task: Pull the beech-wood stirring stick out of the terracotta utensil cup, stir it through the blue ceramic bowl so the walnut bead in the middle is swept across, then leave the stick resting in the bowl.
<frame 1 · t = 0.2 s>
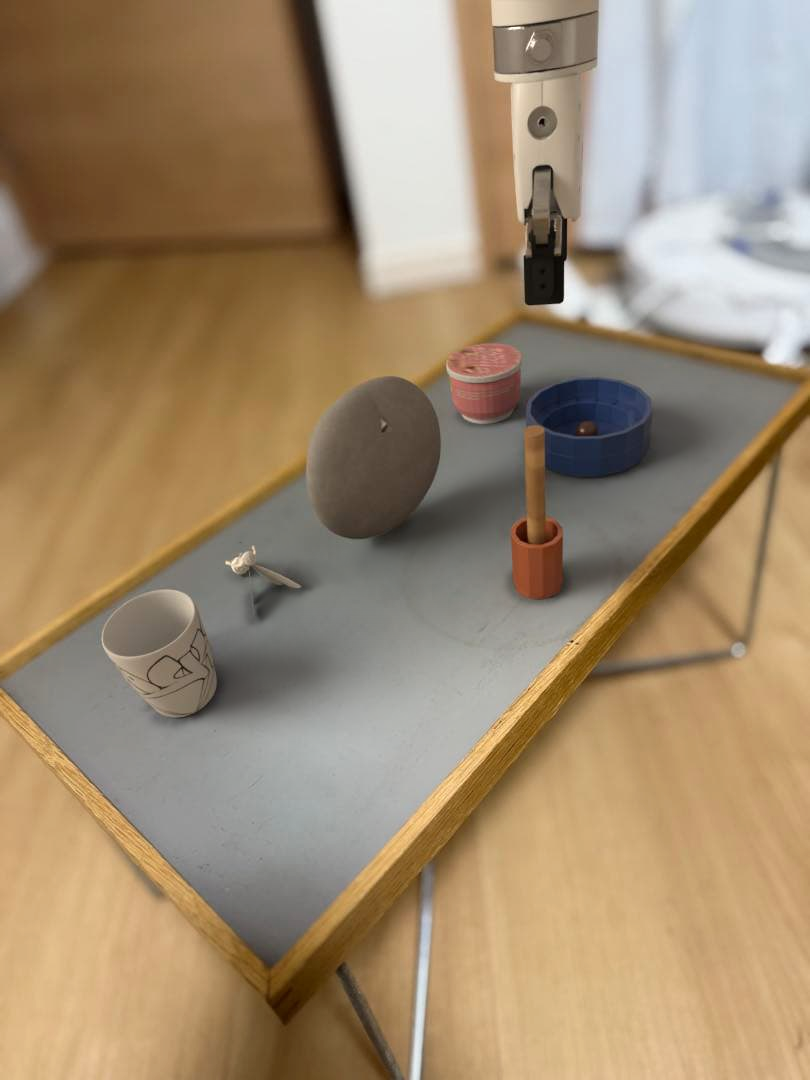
hand: (547, 281, 62), 28 cm above the table, tool pointing down, fingers open, 9 cm apart
holder: (537, 582, 73), on the table
mug: (182, 684, 70), on the table
fairy figurine: (258, 587, 79), on the table
container: (487, 411, 102), on the table
grey-brown thick disc: (389, 527, 84), on the table
bead: (587, 432, 90), point 2 cm above the table, touching bowl
bowl: (586, 446, 92), on the table
stick: (537, 579, 73), resting on holder
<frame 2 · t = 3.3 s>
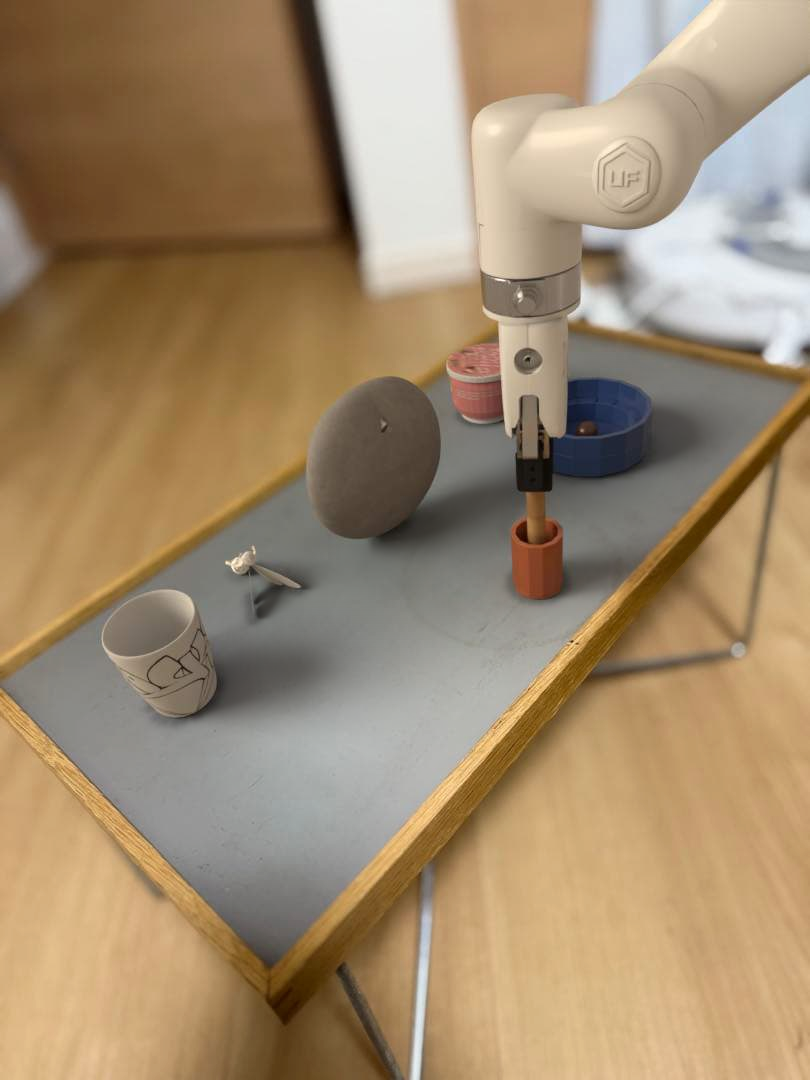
hand: (535, 481, 65), 13 cm above the table, tool pointing down, fingers closed on stick, 1 cm apart
stick: (537, 579, 73), point 1 cm above the table, touching gripper, holder
everything else where it was.
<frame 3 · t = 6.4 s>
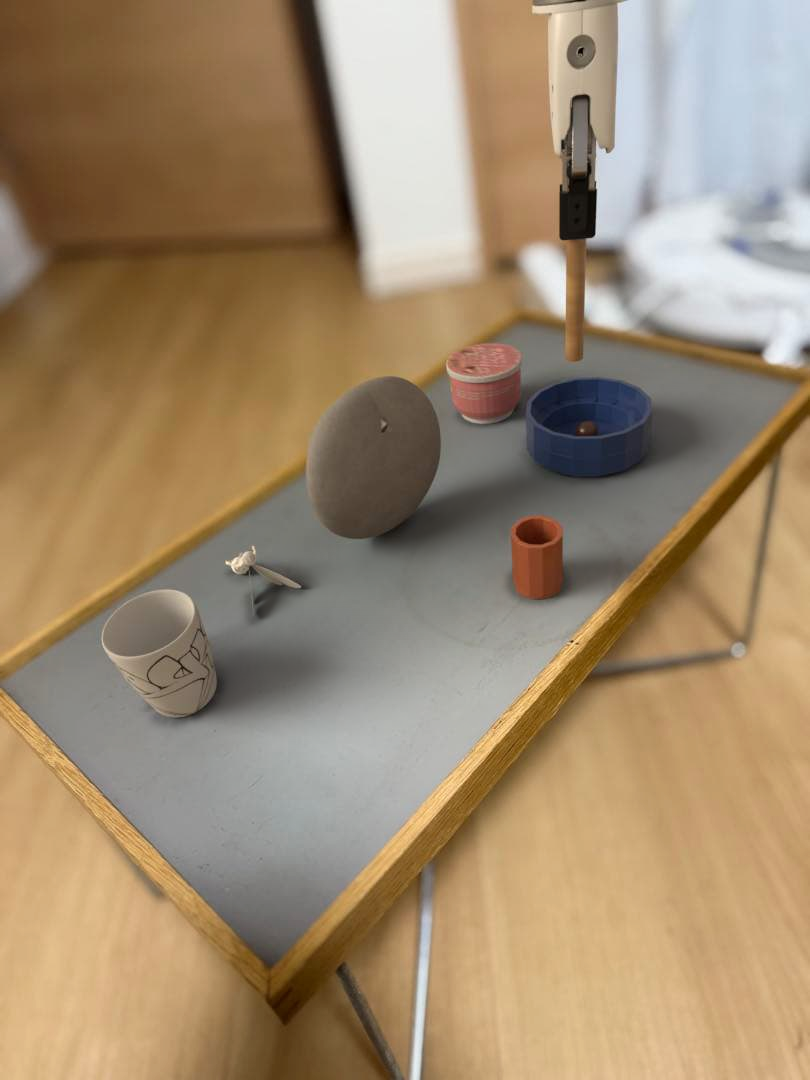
hand: (577, 232, 65), 30 cm above the table, tool pointing down, fingers closed on stick
stick: (574, 358, 73), point 18 cm above the table, touching gripper
everything else where it was.
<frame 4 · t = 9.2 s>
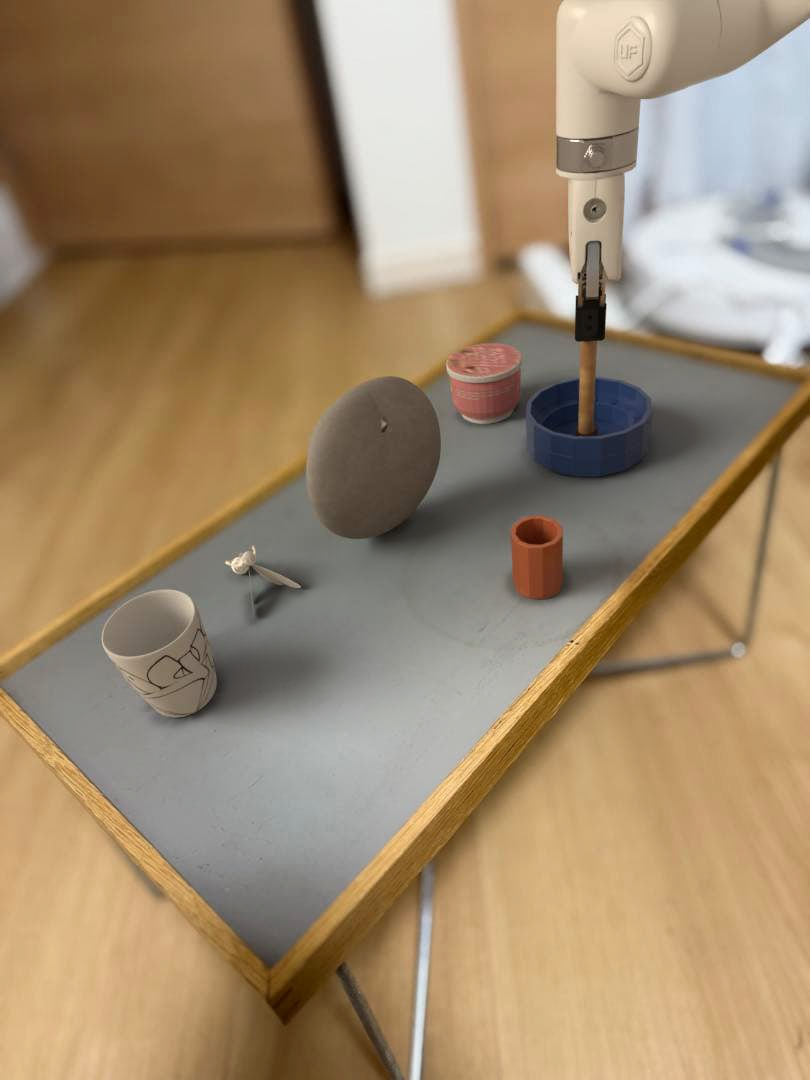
hand: (589, 333, 78), 17 cm above the table, tool pointing down, fingers closed on stick
stick: (585, 430, 86), point 4 cm above the table, touching gripper
everything else where it was.
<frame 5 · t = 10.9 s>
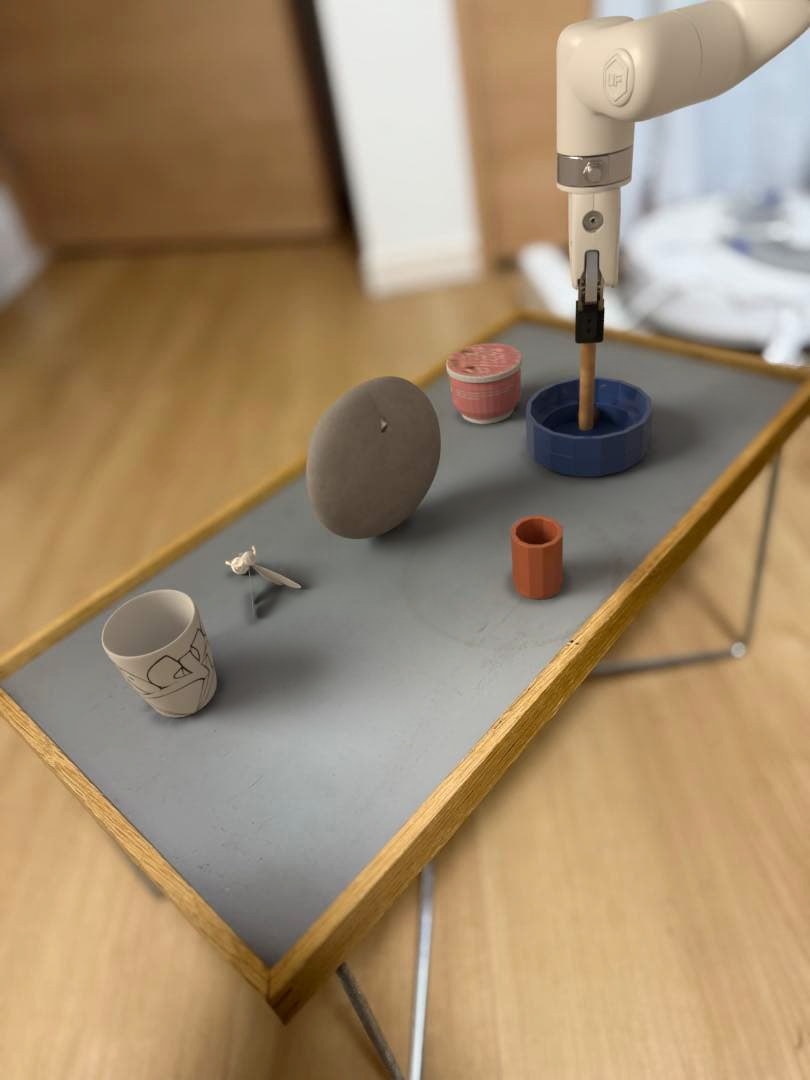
hand: (589, 336, 83), 15 cm above the table, tool pointing down, fingers closed on stick, 1 cm apart
bead: (588, 416, 93), point 2 cm above the table, tilted 156°, touching bowl
stick: (585, 427, 91), point 2 cm above the table, touching gripper
everything else where it was.
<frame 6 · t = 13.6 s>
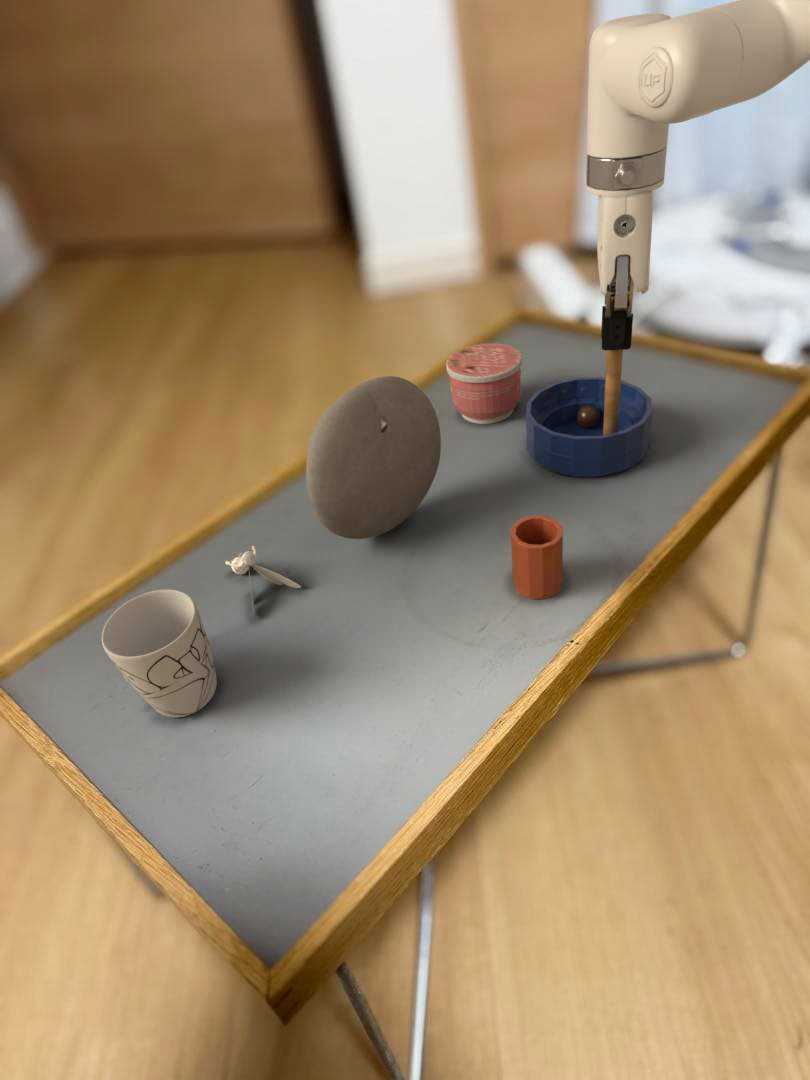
hand: (615, 342, 81), 15 cm above the table, tool pointing down, fingers closed on stick, 1 cm apart
bead: (588, 416, 93), point 2 cm above the table, tilted 150°, touching bowl
stick: (610, 435, 89), point 2 cm above the table, touching gripper
everything else where it was.
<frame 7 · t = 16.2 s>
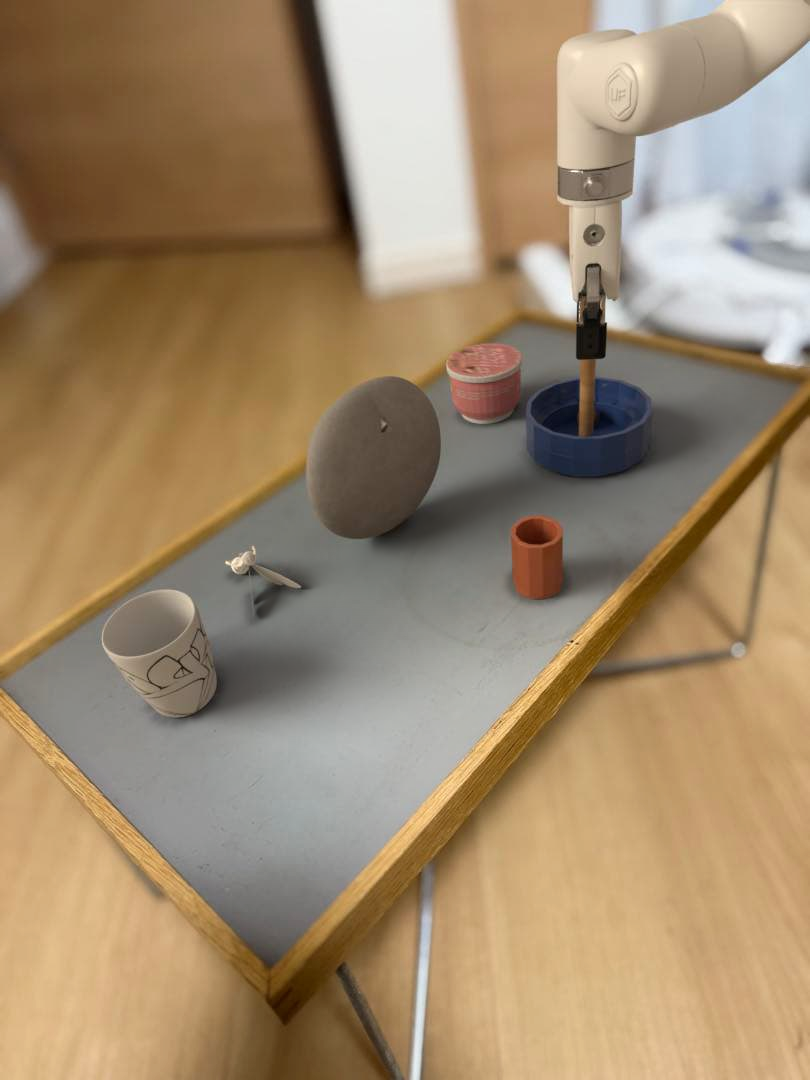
hand: (590, 339, 82), 15 cm above the table, tool pointing down, fingers open, 9 cm apart
bead: (588, 417, 93), point 2 cm above the table, tilted 145°, touching bowl
stick: (585, 442, 91), point 1 cm above the table, touching bowl
everything else where it was.
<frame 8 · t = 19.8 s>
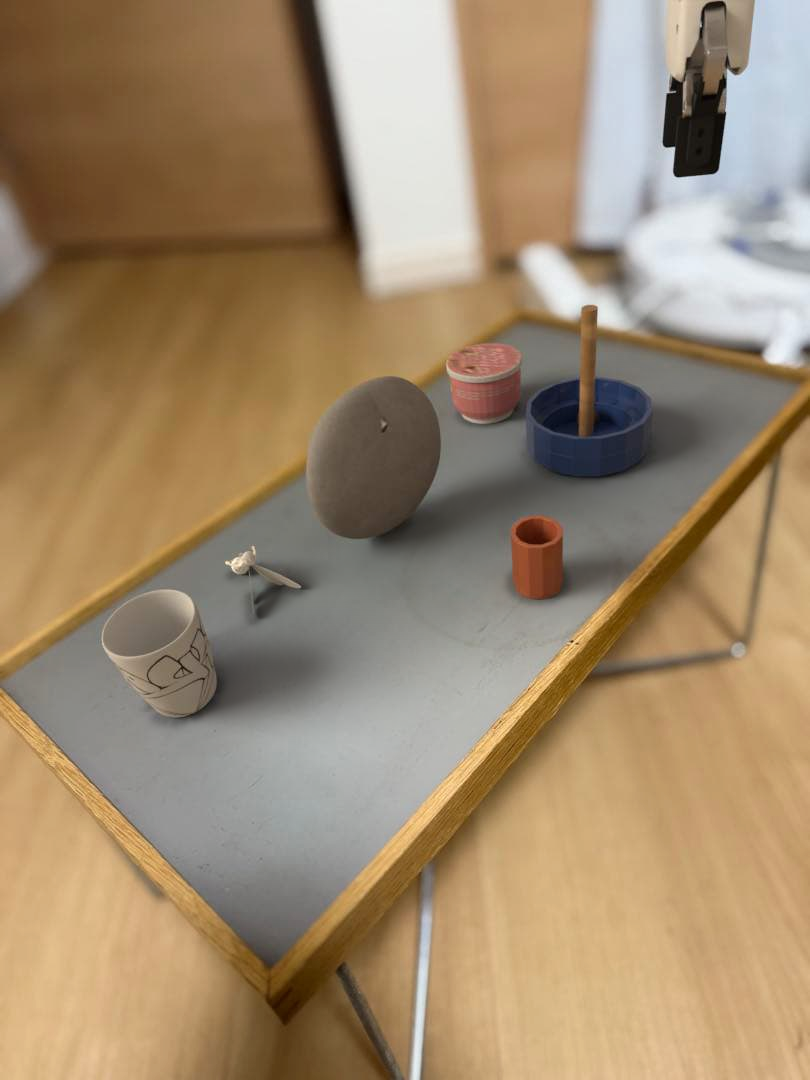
hand: (688, 159, 57), 36 cm above the table, tool pointing down, fingers open, 9 cm apart
bead: (588, 418, 93), point 2 cm above the table, tilted 137°, touching bowl
everything else where it was.
at the end: stick inside the target area in the bowl (0.1 cm from its centre), point 0.6 cm above the bowl's base; bead moved 3.6 cm from its start; the gripper is holding nothing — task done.
